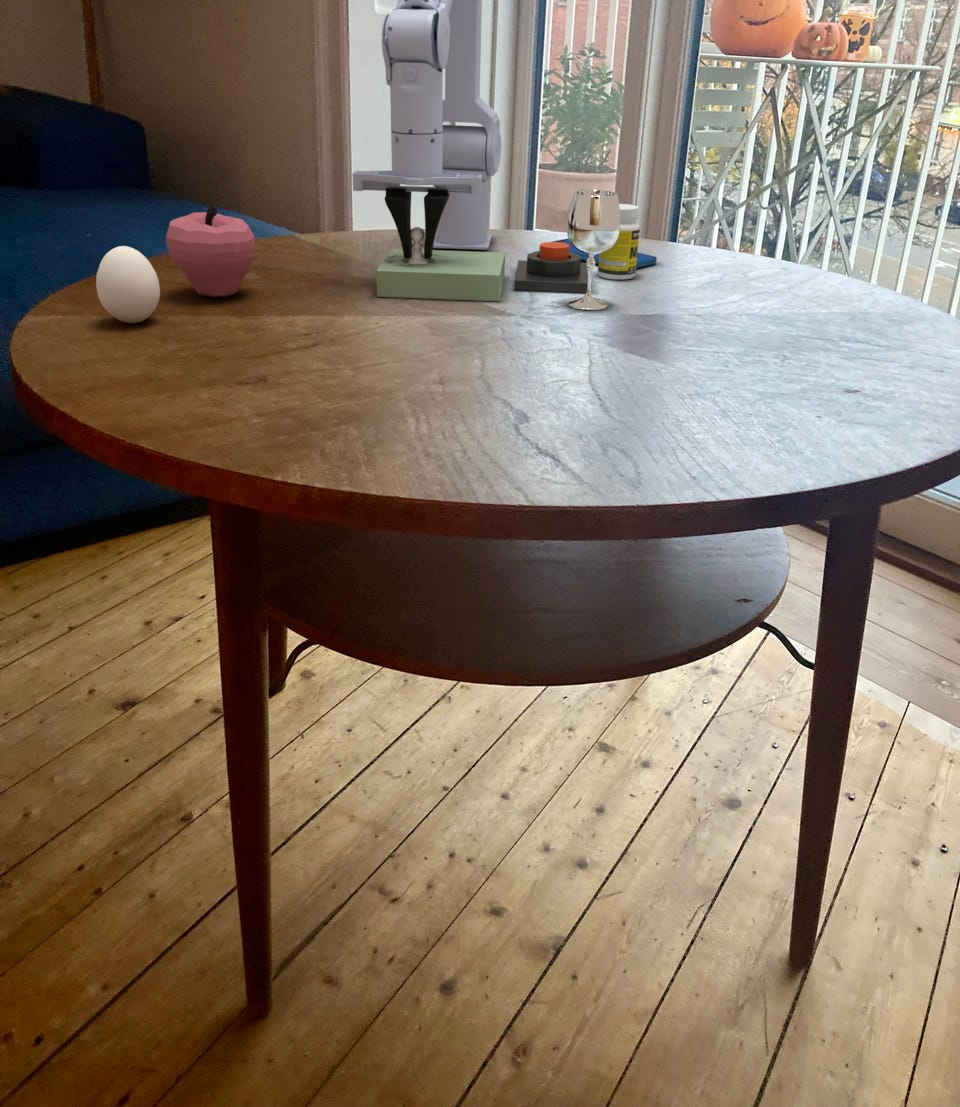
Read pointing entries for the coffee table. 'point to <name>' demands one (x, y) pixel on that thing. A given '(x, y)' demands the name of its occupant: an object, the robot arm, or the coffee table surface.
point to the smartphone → (641, 258)
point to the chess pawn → (417, 246)
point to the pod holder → (443, 276)
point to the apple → (211, 251)
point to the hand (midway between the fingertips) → (418, 256)
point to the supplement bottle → (622, 247)
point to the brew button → (554, 251)
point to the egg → (127, 285)
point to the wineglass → (592, 233)
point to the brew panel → (551, 274)
